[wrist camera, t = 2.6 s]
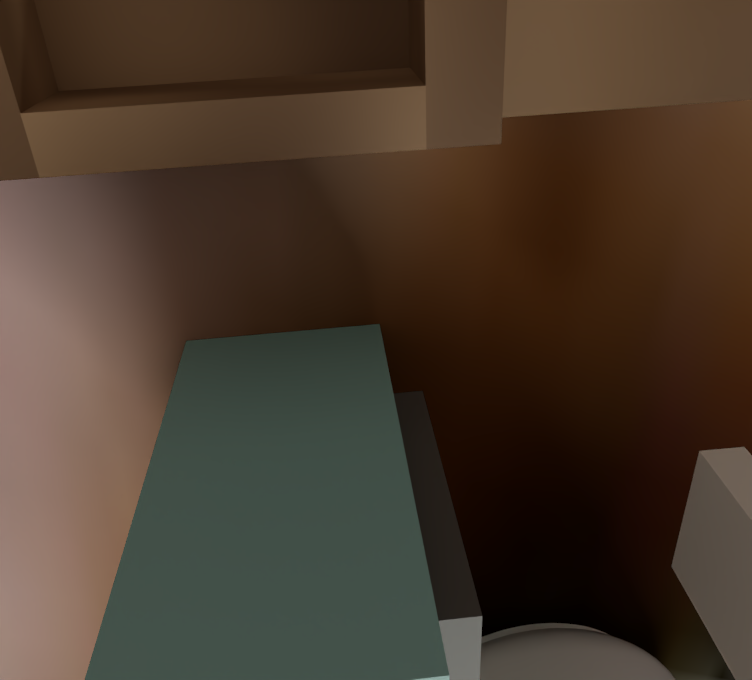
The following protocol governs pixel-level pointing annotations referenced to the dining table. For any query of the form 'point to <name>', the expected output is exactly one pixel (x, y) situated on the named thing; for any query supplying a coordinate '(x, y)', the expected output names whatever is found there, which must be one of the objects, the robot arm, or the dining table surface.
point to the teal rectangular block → (292, 525)
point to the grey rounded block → (565, 655)
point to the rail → (337, 74)
